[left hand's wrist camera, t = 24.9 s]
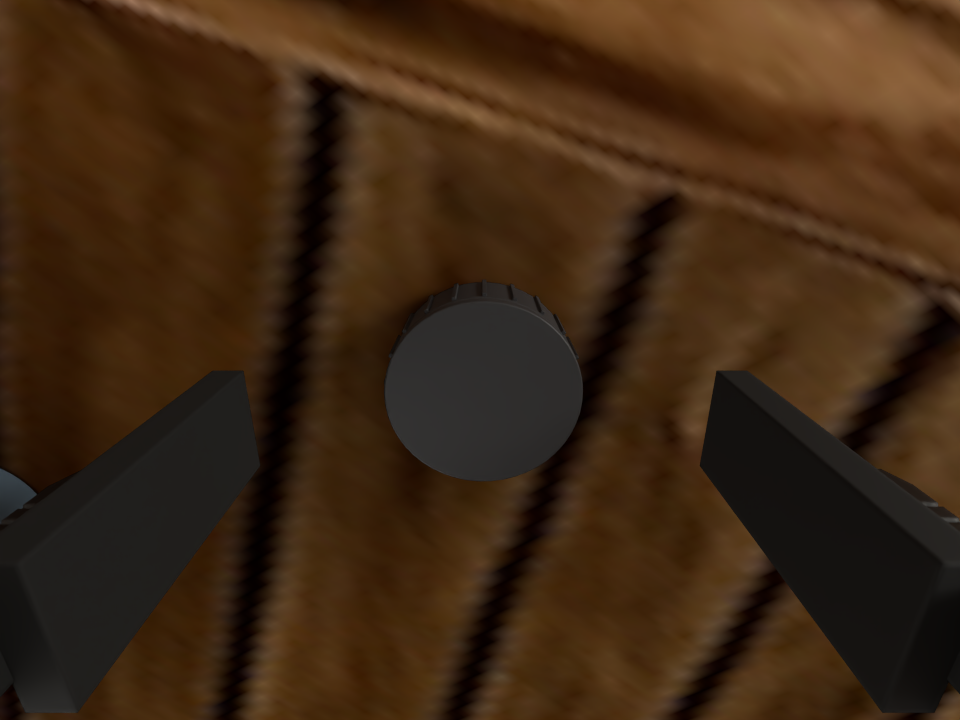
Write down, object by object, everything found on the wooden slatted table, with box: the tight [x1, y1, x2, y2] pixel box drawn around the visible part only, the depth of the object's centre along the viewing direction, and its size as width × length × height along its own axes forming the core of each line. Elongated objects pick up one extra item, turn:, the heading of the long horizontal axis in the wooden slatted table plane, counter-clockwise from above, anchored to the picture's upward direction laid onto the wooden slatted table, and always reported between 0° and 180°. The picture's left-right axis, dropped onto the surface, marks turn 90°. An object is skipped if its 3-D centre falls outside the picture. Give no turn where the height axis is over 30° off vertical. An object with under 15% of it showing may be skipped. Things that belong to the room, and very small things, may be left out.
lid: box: [384, 280, 583, 481], centre depth 14 cm, size 5×5×2 cm
